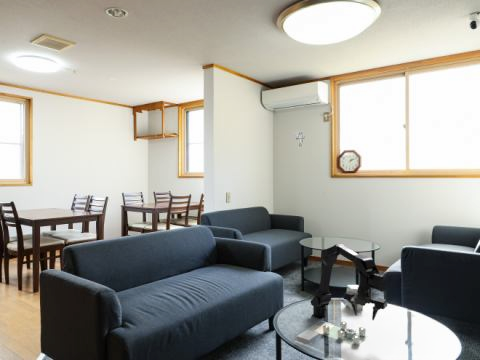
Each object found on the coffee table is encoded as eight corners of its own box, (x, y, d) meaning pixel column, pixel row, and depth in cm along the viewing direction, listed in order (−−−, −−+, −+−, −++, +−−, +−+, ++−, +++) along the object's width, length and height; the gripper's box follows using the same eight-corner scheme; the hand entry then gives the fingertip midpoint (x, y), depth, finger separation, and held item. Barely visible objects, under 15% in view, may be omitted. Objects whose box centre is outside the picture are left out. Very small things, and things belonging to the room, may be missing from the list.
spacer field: (321, 334, 166) (322, 326, 166) (333, 325, 176) (333, 318, 176) (357, 346, 155) (358, 339, 155) (367, 336, 165) (368, 329, 165)
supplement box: (345, 305, 205) (346, 284, 205) (357, 305, 206) (358, 284, 205) (350, 310, 198) (351, 288, 197) (363, 310, 198) (363, 288, 198)
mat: (313, 332, 169) (313, 331, 169) (325, 324, 179) (325, 322, 179) (357, 348, 155) (357, 346, 155) (367, 337, 165) (367, 336, 165)
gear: (342, 337, 164) (342, 331, 164) (346, 333, 168) (346, 327, 168) (353, 341, 160) (353, 334, 160) (358, 336, 164) (358, 330, 164)
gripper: (339, 284, 159) (338, 317, 159) (380, 294, 147) (379, 329, 147) (348, 279, 168) (347, 310, 168) (388, 287, 156) (387, 321, 156)
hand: (364, 317), depth 160 cm, fingers open, 8 cm apart
